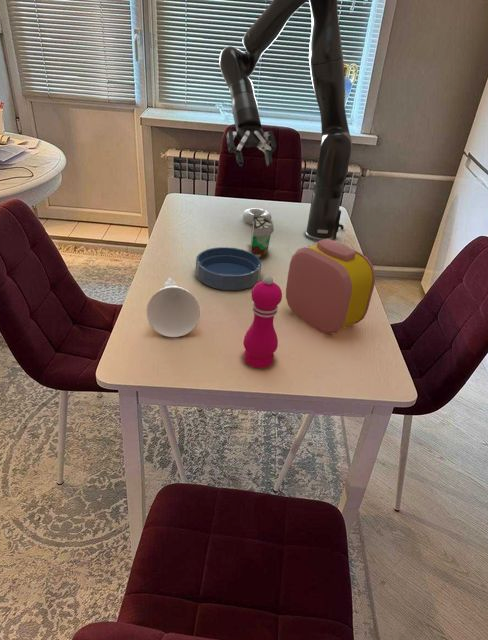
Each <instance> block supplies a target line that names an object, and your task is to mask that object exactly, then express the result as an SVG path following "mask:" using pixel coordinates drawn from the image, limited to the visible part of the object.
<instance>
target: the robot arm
mask: <svg viewBox="0 0 488 640" xmlns="http://www.w3.org/2000/svg"><path fill="white" fill-rule="evenodd" d="M308 1H309V6H310V7H309V8H310V13H311V14H310V15H311V33H310V39H309V40H310V41H309V49H308V50H309V51H308V60H309V69H310V76H311V81H312V87H313V92H314V95H315V98H316V103H317V106H318V110H319V114H320V125H321V142H320V147H319V152H318V158H317V165H316V170H315V175H314V184H313V189H312V196H311V200H310V207H309V214H308V220H307V226H306V230H305V237H307V238H308V239H310V240H313V241H316V242H318V241H320V240H323V239H330V240H333V241H334V240H336V239H337V234H338V233H339V229H340V230H344V229H345V226H344V225H343V224H341V223H340V220H341V215H342V210H341V209H340V208H341V203H342V197H343V192H344V188H345V183H346V179H347V175H348V170H349V165H350V160H351V155H352V150H353V141H352V135H351V133H350V129H349V124H348V119H347V113H346V112H347V111H346V71H345V63H344V62H345V61H344V53H343V47H342V37H341V28H340V21H339V10H338V0H272V1H271V2H270V4H269V5H268V6H267V7H266V9H265V10H264V11H263V12H262V13H261V15H259V17H258V18H257V19H256V20H255V21H254V23H253V24H252V25H251V26H250V27H249V28H248V30H247V31H246V32H245V33H244V35H243V37H242V45H243V47H244V49H245V50H246V51H245V52H244V51H243V50H241V49H239V48H236V47H234V46H230V45H229V46H226V47H224V48H223V49H222V51H221V52H220V55H219V61H218V63H219V69H220V72H221V75H222V78H223V79H224V81H225V84H226V86H227V87H228V89H229V94H230V100H231V110H232V116H233V121H234V126H235V131H234V130H232V129H231V128H229V129H228V131H227V133H226V143H227V150H228V153H229V154H234V155H235V159H236V163H237V165H239V167H243V166H244V163H245V162H244V156H243V151H242V149H243V147H245V148H258V149H259V151H261V152H262V153H264V159H265V165H266V167H270V165H271V164H272V163H273V156H272V154H273V153H274V152H275V150H276V149H277V143H276V138H275V135H274V132H273V130H272V129H269V130H268V131H264V130H263V129H262V122H261V116H260V111H259V106H258V101H257V99H256V96H255V90H254V89H255V88H254V86H253V82H252V80H251V79H250V78H249V77H250V76H251V75H253V73H254V71H255V69H256V67H257V65H258V64H259V61H260V59H261V58H262V55H263V54H264V53H265V51H267V49H269V47H270V46H271V45H272V44H273V43H274V42H275V40H277V38H278V37H279V35H280V34H281V33H282V31H283V29H284V28H285V26H286V24H287V23H288V21H289V20H290V18H291V17H292V16H293V15H294V14H295V13H296V11H298V10H299V8H301V7H302V6H303V5H304V4H305V3H308ZM235 138H236V139H237V140H238V141H239V143H238V145H237V146H235Z"/></svg>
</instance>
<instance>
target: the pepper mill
mask: <svg viewBox="0 0 488 640" xmlns="http://www.w3.org/2000/svg"><path fill="white" fill-rule="evenodd" d="M282 299H283V292H282V289H281V287H280V285H279V284H277V283H276V282H274V278H273V276H272V275H266V276H264V279H263V280H262V281H258V283H257V284H255V285H254V286H253V288H252V290H251V300H252V302H253V303H252V309H251V311H252V312H253V321H252V323H251V325H250V326H249V327H248V329H247V331H246V332H245V334H244V337H243V347H244V355H243V359H244V362H245V364H247V365H248V366H250V367H252V368H256V369H266V368H268V367H270V366H272V364H273V363H274V358H275V353H276V351H277V349H278V346H279V345H278V344H279V338H278V335H277V332H276V329H275V327H274V319H275V316H276V315H277V314H278V310H279V305H280V304H281V302H282Z"/></svg>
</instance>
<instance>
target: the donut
mask: <svg viewBox="0 0 488 640" xmlns="http://www.w3.org/2000/svg"><path fill="white" fill-rule="evenodd" d="M254 214H256V215H261V216H265V217H267V218H269V219H270V220H272V215H271V213H270V212H269V211H268V210H266V209H264V208H259V207H253V208H248V209H245V210H244V211H243V213H242V218H243V221H244V222H245V223H247V224H249V225H251V226H253V217H254Z"/></svg>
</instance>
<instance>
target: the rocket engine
mask: <svg viewBox="0 0 488 640" xmlns="http://www.w3.org/2000/svg"><path fill="white" fill-rule="evenodd" d="M200 317H201V307H200V304H199V302H198V300H197V298H196V297H195V296H194V295H193V294H192V292H190V291H189V290H187V289H186V288H184V287H182V286H179V285H177V282H175V281H174V280H173V278H172V277H168V278H167V279H166V281H165V282H164V283H163V285H162V287H161V289H159V290H157V291H155V293H154V294H153V295H152V296H151V297H150V298H149V301H148V302H147V305H146V318H147V321H148V323H149V325H150V327H151V328H152V329H153V330H154V331H155V332H157V334H159V335H161V336H164V337H169V338H179V337H183V336H186V335H188V334H189V333H191V332H192V331H193V330H194V329H195V328H196V326H198V323H199V322H200Z"/></svg>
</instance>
